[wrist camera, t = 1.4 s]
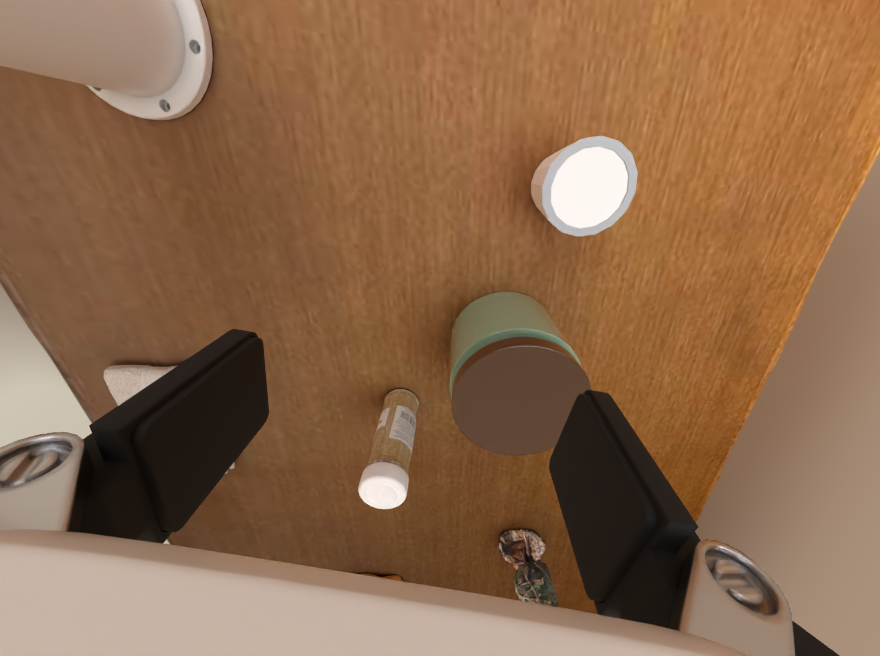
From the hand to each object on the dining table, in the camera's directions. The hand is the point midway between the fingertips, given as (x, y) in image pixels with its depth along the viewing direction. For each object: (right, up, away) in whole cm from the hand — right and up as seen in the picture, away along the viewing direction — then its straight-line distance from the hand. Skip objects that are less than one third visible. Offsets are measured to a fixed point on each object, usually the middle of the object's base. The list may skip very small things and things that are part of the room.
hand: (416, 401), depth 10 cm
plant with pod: (+14, -33, +44) cm, 57 cm away
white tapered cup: (+12, +16, +21) cm, 29 cm away
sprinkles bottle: (-4, -7, +33) cm, 34 cm away
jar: (+8, +1, +28) cm, 29 cm away
